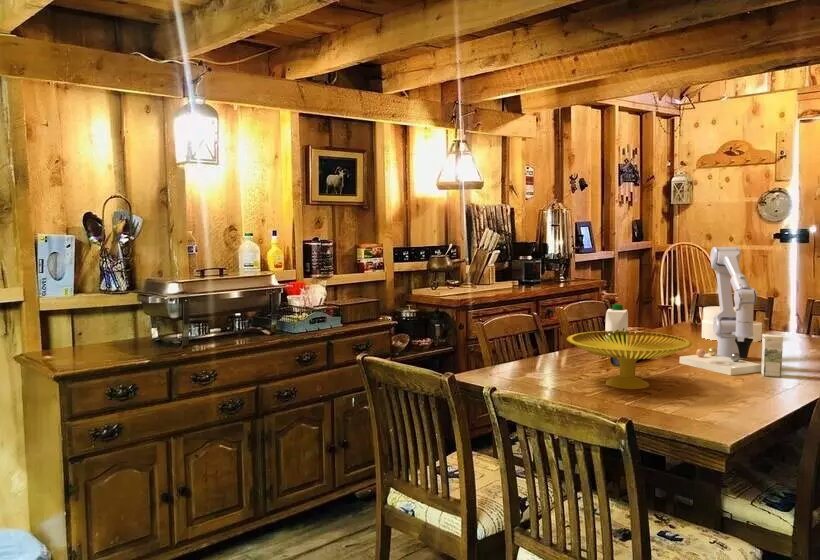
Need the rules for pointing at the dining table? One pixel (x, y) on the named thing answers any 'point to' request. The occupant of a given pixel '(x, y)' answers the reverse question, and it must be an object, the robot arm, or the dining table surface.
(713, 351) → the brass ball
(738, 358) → the steel ball
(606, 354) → the cake stand
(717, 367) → the hole plate
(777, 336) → the syrup box
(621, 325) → the milk carton
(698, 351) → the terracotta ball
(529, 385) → the dining table surface
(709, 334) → the container
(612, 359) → the flashlight
